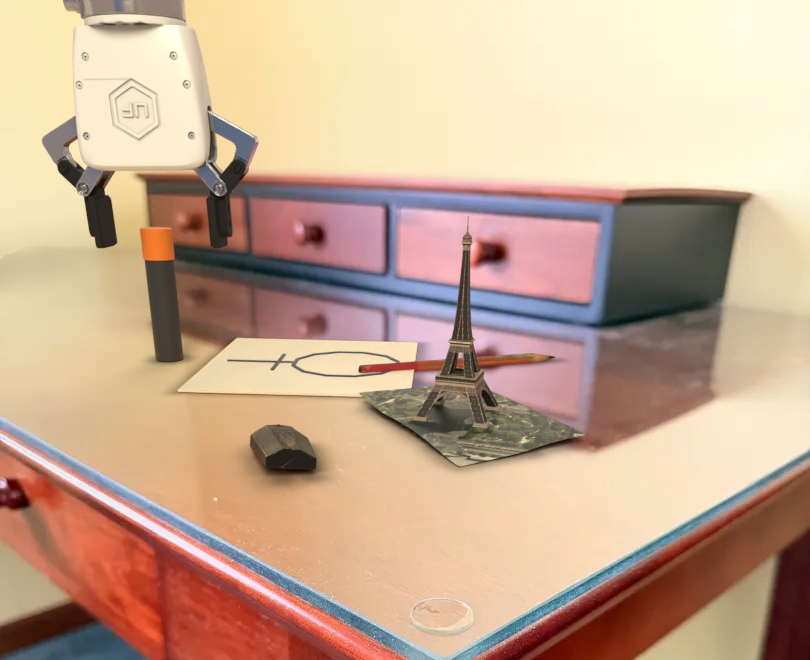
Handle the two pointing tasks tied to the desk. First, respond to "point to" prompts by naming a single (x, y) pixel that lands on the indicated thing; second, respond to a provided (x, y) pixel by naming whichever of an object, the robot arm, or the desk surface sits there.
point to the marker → (162, 292)
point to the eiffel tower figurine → (468, 401)
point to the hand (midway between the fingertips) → (163, 246)
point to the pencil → (438, 364)
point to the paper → (303, 368)
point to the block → (283, 448)
